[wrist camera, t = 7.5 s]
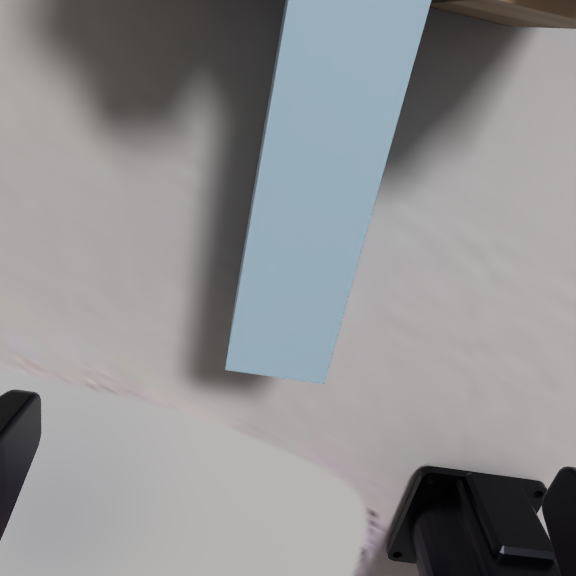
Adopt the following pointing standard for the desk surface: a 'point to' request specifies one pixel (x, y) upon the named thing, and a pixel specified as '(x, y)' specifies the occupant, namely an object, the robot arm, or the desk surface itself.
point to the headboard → (515, 11)
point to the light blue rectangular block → (318, 177)
